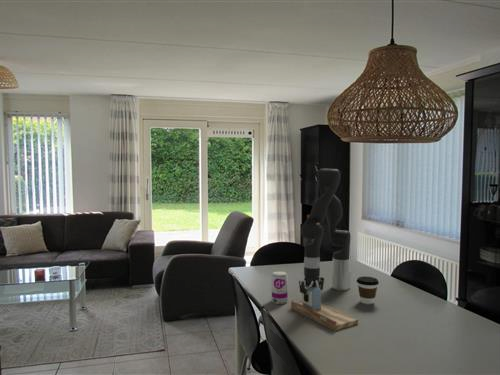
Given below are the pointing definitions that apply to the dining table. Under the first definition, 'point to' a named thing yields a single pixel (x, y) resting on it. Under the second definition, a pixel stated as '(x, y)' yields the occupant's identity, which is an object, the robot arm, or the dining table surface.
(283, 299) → the supplement can
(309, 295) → the carton
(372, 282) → the coffee cup
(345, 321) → the wooden plank
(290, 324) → the dining table surface
